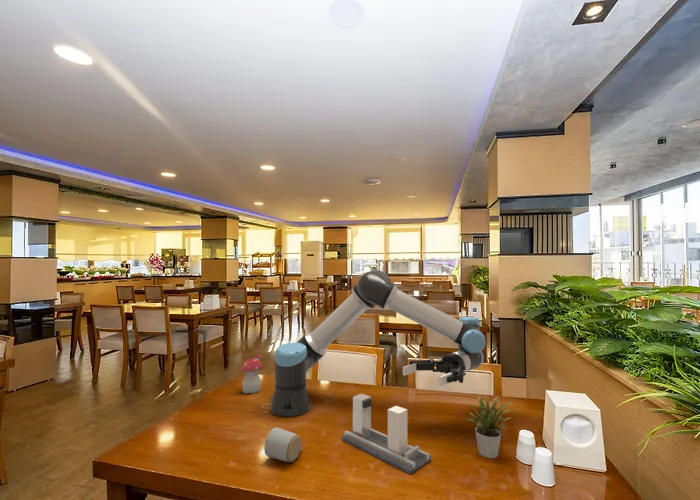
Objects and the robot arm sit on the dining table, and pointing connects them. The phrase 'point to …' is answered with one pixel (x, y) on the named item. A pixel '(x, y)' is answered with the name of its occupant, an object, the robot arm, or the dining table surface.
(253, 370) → the decorative ornament
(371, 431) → the rail
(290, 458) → the grey cylinder on side
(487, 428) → the house plant
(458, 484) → the dining table surface
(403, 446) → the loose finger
